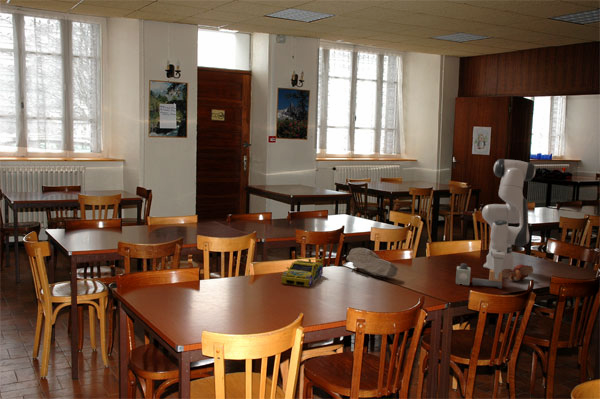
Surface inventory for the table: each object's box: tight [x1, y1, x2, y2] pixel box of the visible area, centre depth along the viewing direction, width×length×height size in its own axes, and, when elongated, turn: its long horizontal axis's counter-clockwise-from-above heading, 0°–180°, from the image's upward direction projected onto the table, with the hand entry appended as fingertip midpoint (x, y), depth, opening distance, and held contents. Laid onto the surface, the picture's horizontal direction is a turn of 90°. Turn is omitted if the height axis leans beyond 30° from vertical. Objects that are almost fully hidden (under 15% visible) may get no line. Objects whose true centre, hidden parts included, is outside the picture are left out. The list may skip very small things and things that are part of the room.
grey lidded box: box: [455, 265, 471, 286], centre depth 314 cm, size 8×7×8 cm
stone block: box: [346, 247, 399, 278], centre depth 325 cm, size 34×10×15 cm
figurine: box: [502, 264, 534, 283], centre depth 326 cm, size 20×9×15 cm
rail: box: [471, 277, 503, 289], centre depth 312 cm, size 6×15×3 cm, turn 75°
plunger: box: [460, 263, 468, 270], centre depth 314 cm, size 3×3×5 cm
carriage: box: [488, 269, 503, 286], centre depth 310 cm, size 5×6×7 cm
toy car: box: [280, 255, 324, 287], centre depth 307 cm, size 16×27×10 cm, turn 162°
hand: (495, 277), depth 310 cm, fingers open, 7 cm apart
